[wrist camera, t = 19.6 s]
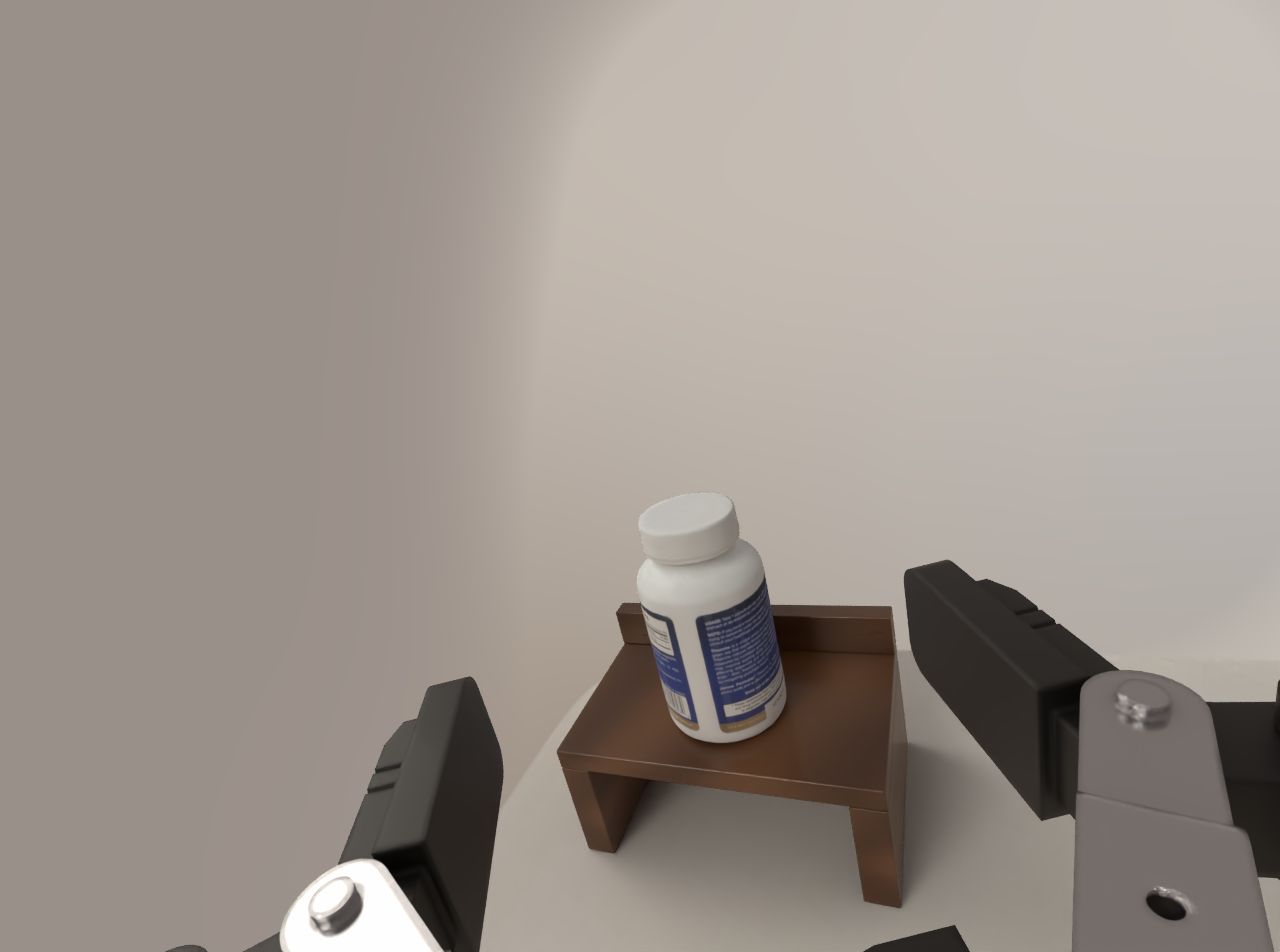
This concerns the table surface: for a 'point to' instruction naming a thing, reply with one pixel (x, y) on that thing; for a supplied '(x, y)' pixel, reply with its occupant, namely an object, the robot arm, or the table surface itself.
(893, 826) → the shelf
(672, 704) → the pill bottle
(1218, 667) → the table surface
